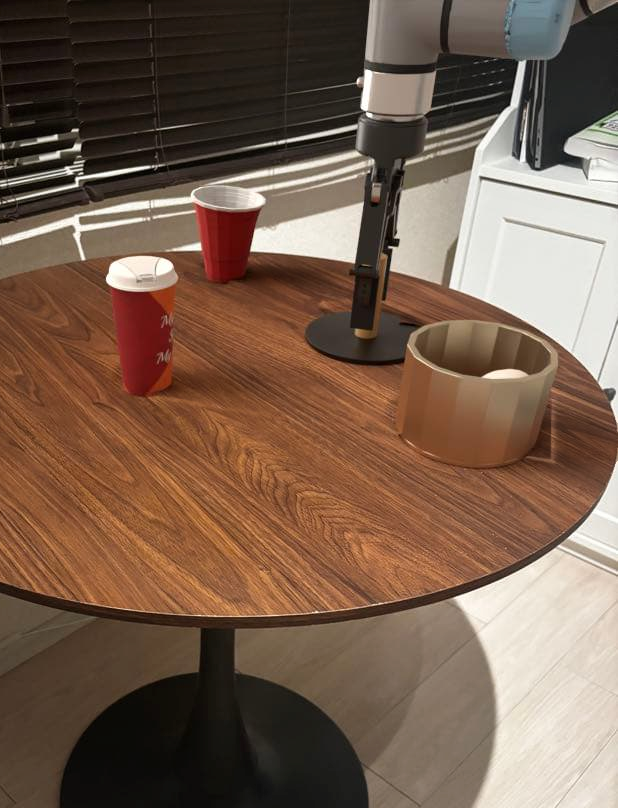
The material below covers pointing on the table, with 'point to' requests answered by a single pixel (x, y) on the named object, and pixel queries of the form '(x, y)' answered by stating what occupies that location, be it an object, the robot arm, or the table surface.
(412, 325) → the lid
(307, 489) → the table surface
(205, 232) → the plastic cup
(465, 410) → the pot
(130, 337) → the paper cup
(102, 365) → the table surface
